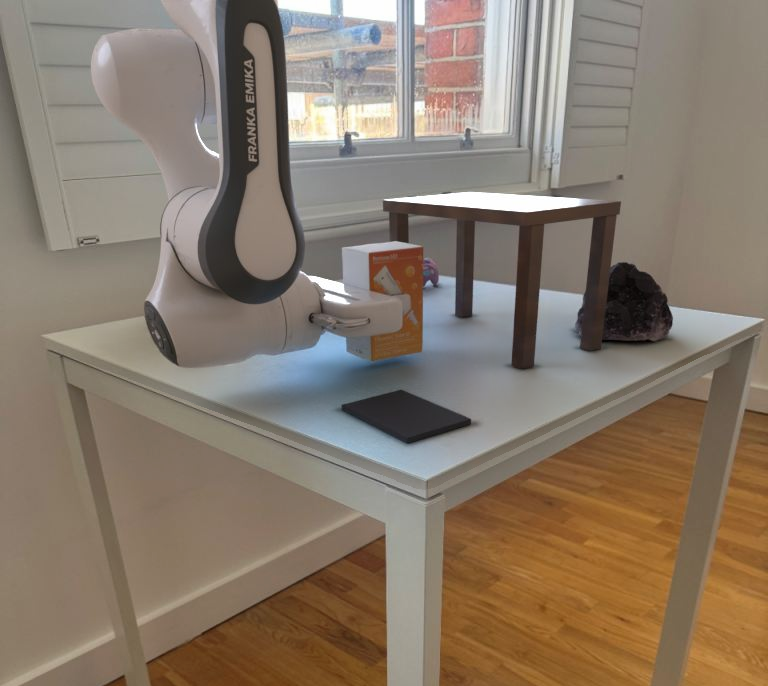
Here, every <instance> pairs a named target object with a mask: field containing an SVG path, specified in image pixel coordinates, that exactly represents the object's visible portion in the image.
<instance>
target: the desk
mask: <svg viewBox="0 0 768 686" xmlns="http://www.w3.org/2000/svg"><path fill="white" fill-rule="evenodd" d="M621 205H622V201H621V200H606V199H591V198H573V197H560V196H559V197H557V196H556V197H555V196H544V195H543V196H542V195H541V196H540V195H526V194H525V195H524V194H507V193H494V192H492V193H491V192H475V191H467V192H456V193H455V192H453V193H444V194H432V195H424V196H423V195H421V196H410V197H399V198H398V197H397V198H388V199H383V200H382V211H383V212H386V213H388V227H389V229H388V231H389V242H393V241H398V242H403V243H408V244H410V241H409V237H410V236H409V233H410V232H409V231H410V230H409V215H414V216H421V217H423V216H424V217H432V218H442V219H451V220H456V235H455V236H456V237H455V238H456V239H455V241H456V242H455V243H456V244H455V247H456V248H455V291H454V292H455V295H454V296H455V297H454V300H455V301H454V316H456V317H459V318H467V317H471V316H473V306H474V305H473V302H474V275H475V274H474V272H475V271H474V270H475V238H476V237H475V236H476V235H475V234H476V222H479V223H488V224H498V225H508V226H518V227H519V229H518V245H517V260H516V261H517V262H516V278H515V279H516V280H515V297H514V313H513V314H514V316H513V333H512V348H511V349H512V350H511V367H514V368H518V369H520V370H525V369H528V368H529V369H530V368H533V367H535V358H536V357H535V355H536V344H537V343H536V342H537V333H538V332H537V330H538V315H539V303H540V291H541V290H540V289H541V278H542V277H541V275H542V262H543V249H544V248H543V247H544V234H545V225H547V224H556V223H562V222H563V223H564V222H571V221H572V222H573V221H579V220H586V219H587V220H588V219H592V226H591V234H590V235H591V236H590V247H589V253H588V254H589V255H588V264H587V265H588V266H587V275H586V284H585V291H586V293H585V292H584V293H585V302H584V312H583V322H582V331H581V336H580V343H579V349H582V350H586V351H589V352H592V351H596V350H600V349H602V345H603V343H602V342H603V340H602V336H603V328H604V319H605V311H606V302H607V294H608V285H609V277H610V268H611V267H612V259H613V251H614V250H613V249H614V242H615V233H616V225H617V216H618V215H620V213H621Z"/></svg>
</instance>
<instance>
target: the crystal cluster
mask: <svg viewBox="0 0 768 686" xmlns="http://www.w3.org/2000/svg"><path fill="white" fill-rule="evenodd" d="M585 293H586V290H585V291H584V293H583V296H582V303H581V307H580V308H579V309H578V312H577V314H576V315H577V318H576V321H575V325H574V328H575V330H574V331H576V332H577V333H578V335H579V336H580V337H581V331H582V322H583V312H584V302H585ZM668 302H669V299H668V296H667V294H666V293H665V292H663V289H662V287H661V286H660V285H659V284H658V283H657V281H655V279H654V277H653V276H652V275H651V274H650V273H648V272H647V271H641V270H639V269H638V268H637V266H636V264H634V263H629V262H628V261H627V262H626V261H622V262H619V261H618V262H617V263H616V264H613V265H611V268H610V277H609V285H608V294H607V302H606V311H605V319H604V328H603V336H602V341H606V340H607V341H608V340H609V341H626V342H627V341H629V342H632V341H633V342H635V341H636V342H637V341H646V340H649V341H651V342H656V341H659V340H663V339H664V338H667V337H668V335H669V333H670V331H671V330H672V327H673V323H674V322H673V320H674V316H673V314H672V311H671V308H670V306H669V305H668Z"/></svg>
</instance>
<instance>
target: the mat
mask: <svg viewBox="0 0 768 686" xmlns="http://www.w3.org/2000/svg"><path fill="white" fill-rule="evenodd" d="M340 407H341V410H342V411H343V412H345V413H347V414H349V415H350V416H351V415H352V417H355V418H357V419H359V420H361V421H363V422H365V423H367V424H369V425H370V426H373V427H375V428H377V429H379V430H381V431H383V432H384V433H386V434H388V435H390V436H392V437H394V438H396V439H398V440H400V441H402V442H403V443H406V444H410V443H414V442H417V441H420V440H423V439H426V438H430V437H433V436H437V435H440V434H443V433H447V432H449V431H452V430H453V431H454V430H456V429H459V428H462V427H467V426H470V425H471V424H472V418H470V417H468V416H465V415H463V414H460V413H459V412H456V411H454V410H451V409H448V408H446V407H444V406H441V405H439V404H437V403H434V402H432V401H430V400H427V399H425V398H423V397H421V396H418V395H415V394H413V393H411V392H409V391H406V390H403V389H397V390H394V391H390V392H386V393H382V394H379V395H375V396H370V397H366V398H362V399H357V400H356V401H351V402H347V403H342V404H341V406H340Z"/></svg>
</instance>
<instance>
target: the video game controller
mask: <svg viewBox="0 0 768 686" xmlns="http://www.w3.org/2000/svg"><path fill="white" fill-rule="evenodd" d="M439 277H440V274H439V270H438V267H437V265H436V263H435V262H434V261H433V260H432V259H431V258H430V257H425V258H423V288H424V287H425V286H426V285H427V283H428V282H429V281H430V283H431V284H432V285H433V286H435V285H437V284H438V283H439V282H440V281H439V280H440V278H439Z"/></svg>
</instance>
